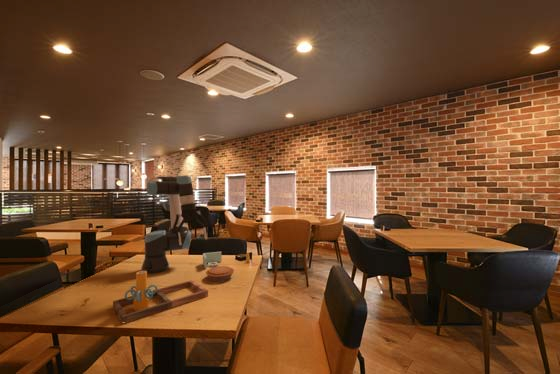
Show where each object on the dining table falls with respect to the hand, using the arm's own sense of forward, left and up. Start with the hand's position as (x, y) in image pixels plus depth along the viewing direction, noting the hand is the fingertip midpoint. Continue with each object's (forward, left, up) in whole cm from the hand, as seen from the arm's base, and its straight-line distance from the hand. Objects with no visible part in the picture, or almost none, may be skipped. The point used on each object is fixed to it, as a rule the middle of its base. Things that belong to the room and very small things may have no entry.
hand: (193, 241), depth 136 cm
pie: (+7, +13, -21) cm, 26 cm away
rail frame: (+15, -21, -21) cm, 33 cm away
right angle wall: (-16, +20, -22) cm, 34 cm away
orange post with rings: (+15, -29, -21) cm, 39 cm away
